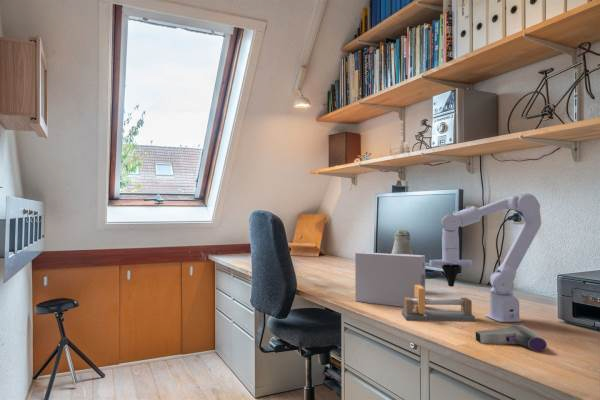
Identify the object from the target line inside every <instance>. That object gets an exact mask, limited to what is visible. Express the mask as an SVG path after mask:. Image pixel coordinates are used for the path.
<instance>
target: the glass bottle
mask: <svg viewBox="0 0 600 400" xmlns="http://www.w3.org/2000/svg"><path fill="white" fill-rule="evenodd" d="M393 238H394V242H393V246H392V250H391V254H409V255H413V251H412V248H411V234H410V232H409V231H408V230H403V229H401V230H396V231H395V232H394V236H393Z"/></svg>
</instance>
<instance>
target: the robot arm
mask: <svg viewBox="0 0 600 400" xmlns="http://www.w3.org/2000/svg"><path fill="white" fill-rule="evenodd" d="M501 210H514V211H516V213H517V214H518V215H519V216H520V219H521V221H522V222H523V223H522V226H521V227H520V229H519V231H518V234H517V235H516V238H515V239H514V240H513V243H512V244H511V247H510V248H509V250H508V252H507V254H506V256H505V257H504V260H503V261H502V263H501V264H500V265H499V266H498V268H497V269H496V271H494V272H493V273H491V275H490V276H489V283H490V285H491V289H489V313H488V314H487V313H485V314H484V316H485V317H487V318H490V319H492V320H495V321H497V322H499V323H514V322H515V323H516V322H518V323H519V322H523V320H522V319H521V318H520V302H519V301H520V300H519V299H518V298H517V297H516V296H514V292H513V288H514V281H515V278H516V276H517V271H518V268H519V266H520V264H521V263H522V261H523V259H524V257H525V255H526V254H527V252H528V250H529V248H530V246H531V244H532V242H533V241H534V239H535V237H536V235H537V234H538V232H539V230H540V228H541V226H542V217H541V204H540V202H539V201H538V199H537V197H536V196H535V195H534V194H531V193H523V194H521V193H520V194H517V195H515V196H514V195H513V196H509V197H508V196H507V197H504V198H501V199H498V200H496V201H493V202H491V203H490V202H489V203H488V204H486V205H483V206H481V207H476V206H474V205H472V206H470V205H467V206H465V208H463V209H462V210H457V211H452V213H451V214H446V215H445V216H444V217H442V219H441V222H440V223H441V226H442V231H441V232H442V235H441V250H442V251H441V252H442V253H441V254H442V256H441V258H442V259H429V266H430V267H434V266H436V267H437V266H441V268H442V271H443V272H444V275H445V278H446V281H447V286H448V287H455V281H456V278H457V275H458V273H459V272H460V271H461V267H464V266H467V267H472V266H473V260H471V259H460V236H459V227H461V228H464V227H466V226H469V225H472V224H475V223H479V222H480V221H481V218H482V217H483V216H486V215H490V214H493V213H496V212H499V211H501Z"/></svg>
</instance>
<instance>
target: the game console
mask: <svg viewBox="0 0 600 400" xmlns="http://www.w3.org/2000/svg"><path fill="white" fill-rule="evenodd" d="M354 259H355V260H354V261H355V274H354V276H355V281H354V282H355V283H354V285H355V286H354V287H355V302H360V303H361V302H362V303H368V304H369V303H370V304H377V305H385V306H386V305H387V306H395V307H402V308H404V297H410V298H411V299H415V296H414V285H421V286H422V287H423V288H425V289H426V255H425V254H423V255H421V254H412V255H409V254H392V253H383V252H382V253H380V252H366V251H359V252H355V258H354ZM413 309H415V305H414V304H413Z"/></svg>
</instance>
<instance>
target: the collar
mask: <svg viewBox="0 0 600 400" xmlns="http://www.w3.org/2000/svg"><path fill="white" fill-rule="evenodd" d="M414 296H415V299H418V305H415V308H414V310H416V311H417V312H418V313H419V314H425V310H426V305H425V299H426V287H425V288H423V287H422V286H421V285H414Z"/></svg>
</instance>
